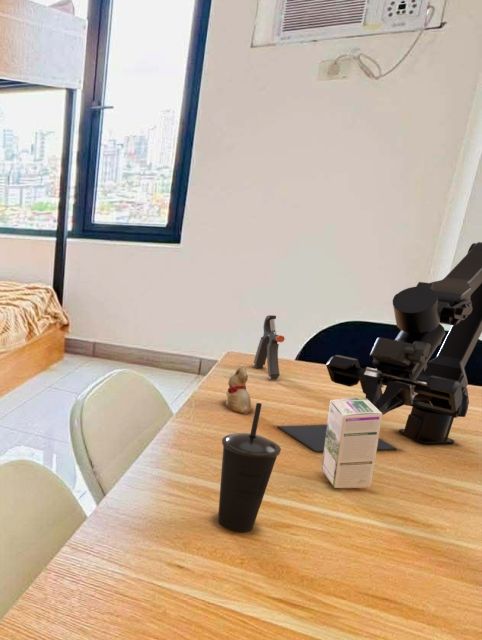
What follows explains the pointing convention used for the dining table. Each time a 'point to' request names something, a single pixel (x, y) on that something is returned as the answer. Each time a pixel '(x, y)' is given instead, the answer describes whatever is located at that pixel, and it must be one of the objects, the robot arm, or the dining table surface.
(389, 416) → the dining table surface
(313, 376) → the dining table surface
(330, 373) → the robot arm
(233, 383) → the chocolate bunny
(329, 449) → the syrup box
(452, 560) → the dining table surface
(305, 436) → the placemat
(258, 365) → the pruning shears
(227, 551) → the dining table surface
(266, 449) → the drinking cup
